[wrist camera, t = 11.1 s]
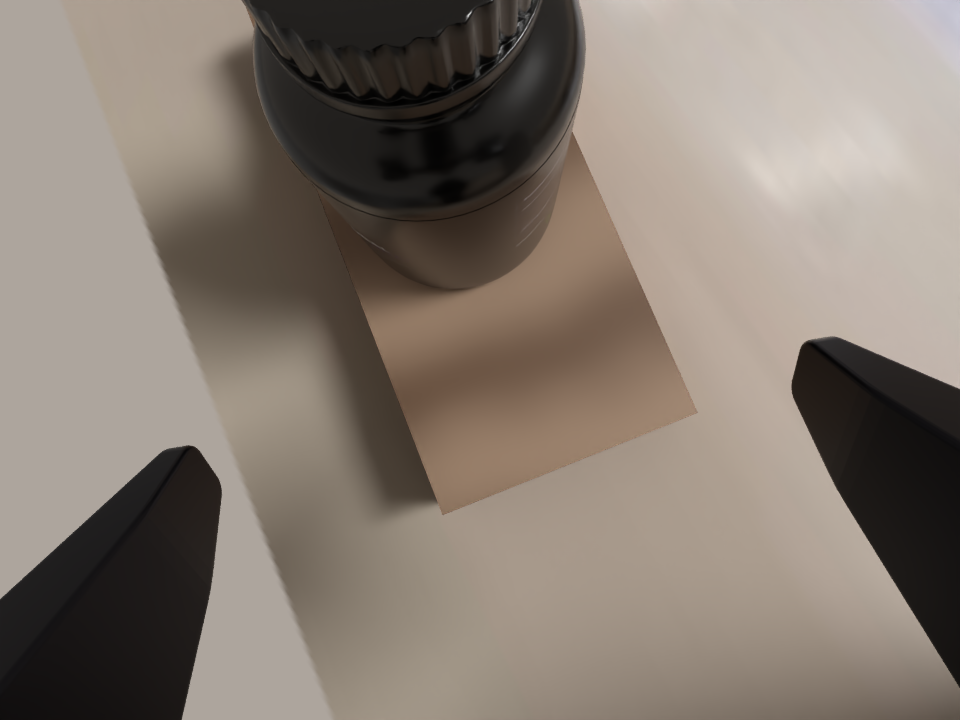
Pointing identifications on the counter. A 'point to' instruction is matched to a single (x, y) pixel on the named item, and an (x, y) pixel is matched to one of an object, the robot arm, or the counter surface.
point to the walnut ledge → (522, 352)
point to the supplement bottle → (427, 121)
